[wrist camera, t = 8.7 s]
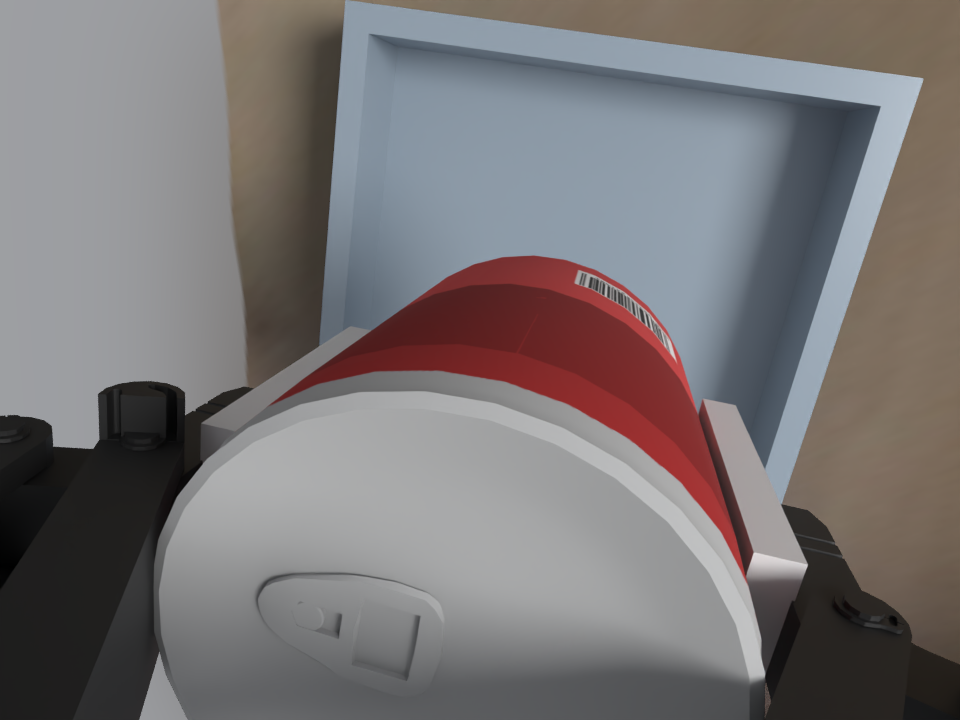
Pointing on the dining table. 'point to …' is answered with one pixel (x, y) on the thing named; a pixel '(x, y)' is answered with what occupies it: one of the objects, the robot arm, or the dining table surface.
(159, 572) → the canned food
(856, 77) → the bin
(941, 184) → the dining table surface
